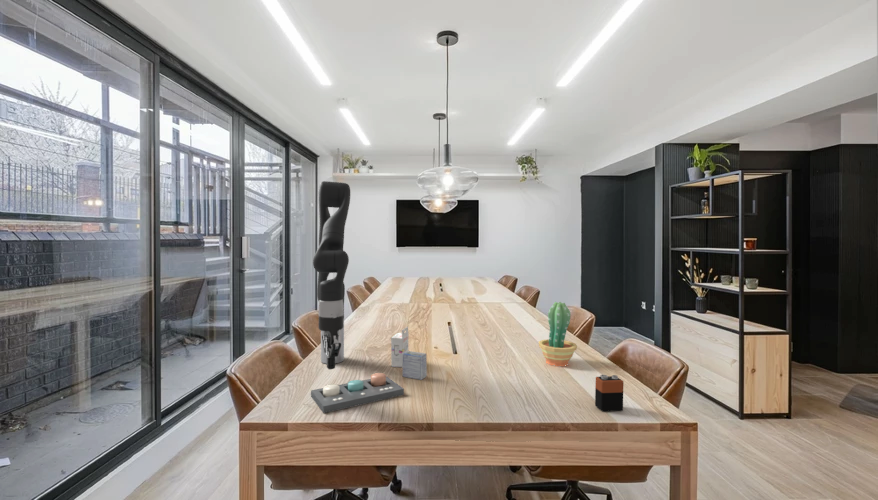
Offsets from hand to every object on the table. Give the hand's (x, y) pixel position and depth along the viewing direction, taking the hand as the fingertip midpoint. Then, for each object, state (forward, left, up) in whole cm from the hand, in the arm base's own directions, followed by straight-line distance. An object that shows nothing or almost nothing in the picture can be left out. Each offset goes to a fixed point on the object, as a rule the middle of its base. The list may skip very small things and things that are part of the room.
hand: (330, 368), depth 123 cm
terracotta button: (0, +16, -8) cm, 18 cm away
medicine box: (-4, +32, -10) cm, 34 cm away
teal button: (0, +8, -9) cm, 12 cm away
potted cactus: (+12, +90, -10) cm, 91 cm away
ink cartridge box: (-20, +34, -10) cm, 41 cm away
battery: (+50, +69, -10) cm, 86 cm away
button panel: (+2, +8, -10) cm, 13 cm away
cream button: (0, 0, -9) cm, 9 cm away
